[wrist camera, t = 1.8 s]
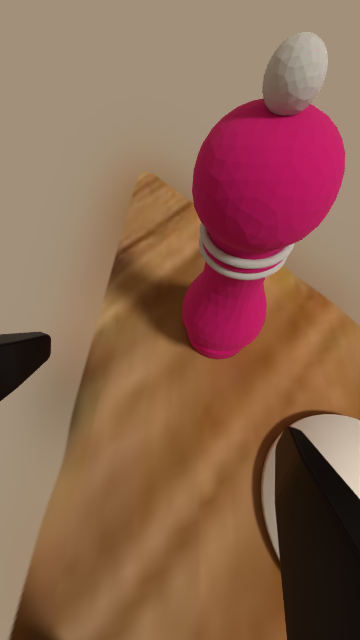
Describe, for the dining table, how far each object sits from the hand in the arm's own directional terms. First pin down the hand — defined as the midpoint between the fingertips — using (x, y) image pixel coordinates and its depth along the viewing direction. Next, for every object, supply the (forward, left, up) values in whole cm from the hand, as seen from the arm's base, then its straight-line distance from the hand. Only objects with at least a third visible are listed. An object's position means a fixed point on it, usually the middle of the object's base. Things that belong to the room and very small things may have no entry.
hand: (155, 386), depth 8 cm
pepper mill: (+9, -4, -14) cm, 17 cm away
